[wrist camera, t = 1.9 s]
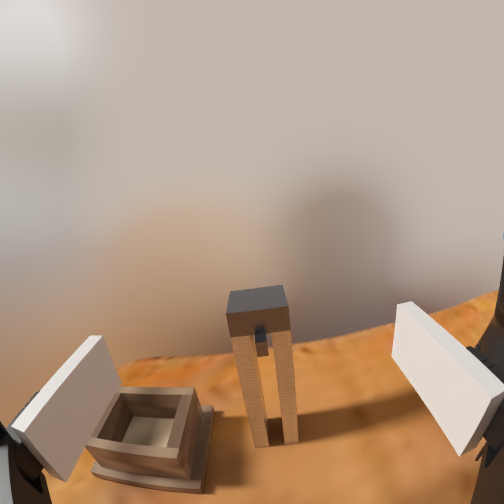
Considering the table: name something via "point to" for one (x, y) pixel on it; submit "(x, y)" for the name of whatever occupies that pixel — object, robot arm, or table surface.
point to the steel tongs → (247, 350)
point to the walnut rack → (153, 439)
